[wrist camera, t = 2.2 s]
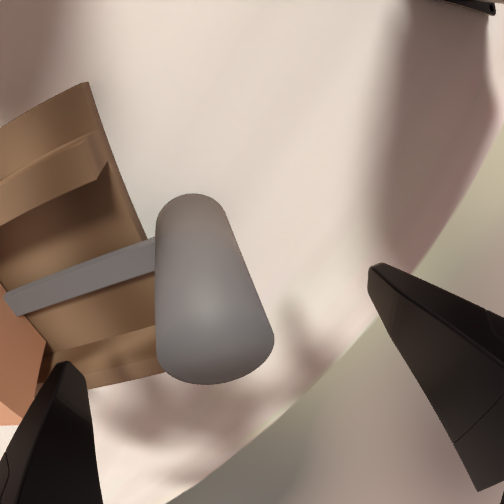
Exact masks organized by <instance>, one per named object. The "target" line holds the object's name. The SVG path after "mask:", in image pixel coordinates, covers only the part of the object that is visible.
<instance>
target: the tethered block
mask: <svg viewBox="0 0 504 504" xmlns="http://www.w3.org/2000/svg"><path fill="white" fill-rule="evenodd" d="M152 271H155V331H156V353H157V359H158V362H159V364H160V366H161V367H162V368H163V369H164V371H165V372H167V373H168V374H169V375H171V376H172V377H174V378H176V379H178V380H181V381H184V382H187V383H192V384H201V385H212V384H220V383H225V382H229V381H233V380H236V379H238V378H241V377H243V376H245V375H247V374H249V373H251V372H252V371H254V370H255V369H257V368H258V367H259V366H260V365H261V364H263V363H264V362H265V360H266V359H267V358H268V356H269V355H270V353H271V351H272V349H273V346H274V333H273V331H272V328H271V326H270V323H269V321H268V318H267V316H266V313H265V311H264V308H263V306H262V304H261V301H260V299H259V296H258V294H257V291H256V289H255V286H254V284H253V281H252V279H251V276H250V274H249V271H248V269H247V266H246V264H245V261H244V259H243V256H242V254H241V251H240V249H239V246H238V244H237V241H236V239H235V236H234V234H233V231H232V229H231V226H230V224H229V221H228V219H227V216H226V214H225V211H224V210H223V208H222V207H221V205H220V204H219V203H218V202H216V201H215V200H214V199H212V198H210V197H208V196H205V195H201V194H185V195H181V196H179V197H176V198H174V199H172V200H171V201H170V202H168V203H167V204H166V205H165V206H164V207H163V208H162V210H161V211H160V213H159V215H158V217H157V221H156V233H155V237H153V238H150V239H147V240H144V241H141V242H139V243H136V244H133V245H130V246H127V247H124V248H121V249H119V250H116V251H113V252H110V253H107V254H105V255H102V256H99V257H96V258H94V259H91V260H88V261H85V262H83V263H80V264H77V265H75V266H72V267H69V268H67V269H64V270H62V271H59V272H56V273H54V274H51V275H49V276H46V277H43V278H41V279H38V280H36V281H33V282H31V283H28V284H26V285H23V286H21V287H18V288H16V289H13V290H11V291H9V292H6V290H5V289H4V287H3V286H2V285H1V283H0V426H3V425H20V423H21V421H22V419H23V417H24V416H25V414H26V412H27V410H28V409H29V407H30V405H31V404H32V402H33V400H34V395H35V390H36V385H37V379H38V374H39V370H40V365H41V361H42V356H43V352H44V348H45V344H46V341H45V340H44V338H43V337H42V336H41V335H40V334H39V333H38V331H37V330H36V329H35V328H34V327H33V325H32V324H31V323H30V322H29V321H28V319H27V318H26V317H25V316H24V314H26V313H29V312H32V311H35V310H38V309H41V308H44V307H47V306H50V305H53V304H55V303H58V302H61V301H64V300H67V299H70V298H73V297H76V296H79V295H82V294H85V293H88V292H91V291H94V290H97V289H100V288H103V287H106V286H109V285H112V284H115V283H118V282H121V281H124V280H127V279H130V278H133V277H136V276H140V275H143V274H146V273H149V272H152Z"/></svg>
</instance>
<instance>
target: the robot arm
mask: <svg viewBox="0 0 504 504" xmlns="http://www.w3.org/2000/svg"><path fill="white" fill-rule="evenodd" d="M437 1H441V2H446V3H449V4H453V5H457V6H461V7H464V8H467V9H471V10H474V11H477V12H480V13H483V14H486V15H492V16H494V15H495V14H496V9H495V3H502V4H504V0H437ZM367 289H368V293H369V296H370V298H371V300H372V302H373V304H374V306H375V308H376V310H377V312H378V314H379V316H380V317H381V320H382V322H383V323H384V325H385V328H386V329H387V332H388V334H389V335H390V337H391V339H392V341H393V342H394V344H395V346H396V347H397V349H398V350H399V352H400V353H401V355H402V357H403V358H404V360H405V361H406V363H407V365H408V366H409V368H410V369H411V371H412V373H413V374H414V376H415V378H416V379H417V381H418V383H419V384H420V386H421V388H422V390H423V391H424V393H425V395H426V396H427V398H428V400H429V401H430V403H431V405H432V407H433V408H434V410H435V412H436V414H437V415H438V417H439V419H440V421H441V423H442V424H443V426H444V428H445V430H446V432H447V433H448V435H449V437H450V439H451V441H452V443H454V444H453V445H454V447H455V449H456V451H457V452H458V454H459V456H460V458H461V460H462V462H463V464H464V466H465V468H466V470H467V472H468V474H469V476H470V478H471V480H472V482H473V484H474V486H475V488H476V490H477V491H478V492H479V491H482V490H484V489H486V488H489V487H491V486H493V485H495V484H498V483H500V482H502V481H504V318H503V317H501V316H499V315H497V314H495V313H493V312H491V311H488V310H486V309H484V308H482V307H480V306H478V305H476V304H474V303H472V302H469V301H467V300H465V299H463V298H461V297H459V296H457V295H455V294H452V293H450V292H448V291H446V290H443V289H441V288H439V287H437V286H435V285H433V284H430V283H428V282H426V281H424V280H422V279H419V278H417V277H415V276H413V275H410V274H408V273H406V272H404V271H401V270H399V269H397V268H395V267H392V266H390V265H388V264H385V263H378V264H376V265H373V266H371V267H370V268H369V271H368V286H367ZM0 504H103V500H102V494H101V489H100V483H99V476H98V469H97V461H96V453H95V444H94V433H93V424H92V418H91V412H90V405H89V398H88V391H87V383H86V379H85V377H84V375H83V374H82V373H81V372H80V371H79V370H78V369H77V368H76V367H75V366H74V365H73V364H72V363H71V362H70V361H67V360H66V361H62V362H58V363H57V364H56V365H55V366H54V368H53V369H52V371H51V373H50V374H49V376H48V377H47V379H46V380H45V382H44V384H43V385H42V387H41V389H40V390H39V392H38V393H37V395H36V397H35V398H34V400H33V402H32V404H31V405H30V407H29V409H28V410H27V412H26V414H25V416H24V417H23V419H22V421H21V423H20V425H19V426H18V428H17V430H16V432H15V434H14V435H13V437H12V439H11V441H10V443H9V445H8V447H7V449H6V452H5V453H4V455H3V457H2V459H1V461H0ZM500 504H504V493H503V496H502V499H501V503H500Z"/></svg>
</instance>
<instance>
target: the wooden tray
mask: <svg viewBox="0 0 504 504" xmlns="http://www.w3.org/2000/svg"><path fill="white" fill-rule="evenodd" d="M144 240H147V237H146V234H145V232H144V230H143V228H142V225H141V223H140V221H139V218H138V216H137V214H136V211H135V209H134V207H133V204H132V202H131V199H130V197H129V195H128V192H127V190H126V187H125V185H124V182H123V180H122V177H121V175H120V172H119V169H118V167H117V164H116V162H115V159H114V156H113V154H112V151H111V148H110V145H109V143H108V140H107V137H106V134H105V131H104V129H103V126H102V123H101V120H100V117H99V114H98V111H97V108H96V105H95V102H94V99H93V95H92V92H91V89H90V86H89V82H85V83H80V84H78V85H76V86H74V87H72V88H70V89H68V90H66V91H64V92H62V93H60V94H58V95H56V96H54V97H52V98H50V99H48V100H47V101H45V102H43V103H41V104H39V105H38V106H36V107H34V108H32V109H31V110H29V111H27V112H25V113H24V114H22V115H20V116H19V117H17V118H16V119H14V120H12V121H11V122H9V123H8V124H6V125H5V126H3V127H2V128H0V283H1V285H2V286H3V287H4V289H5V290H6V292H9V291H11V290H13V289H16V288H18V287H21V286H23V285H26V284H28V283H31V282H33V281H36V280H38V279H41V278H43V277H46V276H49V275H51V274H54V273H56V272H59V271H62V270H64V269H67V268H69V267H72V266H75V265H77V264H80V263H83V262H85V261H88V260H91V259H94V258H96V257H99V256H102V255H105V254H107V253H110V252H113V251H116V250H119V249H121V248H124V247H127V246H130V245H133V244H136V243H139V242H141V241H144ZM24 316H25V317H26V318H27V319H28V321H29V322H30V323H31V324H32V325H33V327H34V328H35V329H36V330H37V331H38V333H39V334H40V335H41V336H42V337H43V338H44V340H45V341H46V344H45V348H44V352H43V356H42V361H41V365H40V370H39V374H38V379H37V385H36V390H35V395H34V398H35V397H36V395H37V393H38V392H39V390H40V389H41V387H42V385H43V384H44V382H45V380H46V379H47V377H48V376H49V374H50V373H51V371H52V369H53V368H54V366H55V365H56V364H57V363H58V362H62V361H66V360H67V361H70V362H71V363H72V364H73V365H74V366H75V367H76V368H77V369H78V370H79V371H80V372H81V373H82V374H83V375H84V377H85V379H86V383H87V389H92V388H97V387H102V386H107V385H112V384H117V383H121V382H126V381H130V380H134V379H139V378H143V377H147V376H151V375H155V374H159V373H163V372H165V371H164V369H163V368H162V367H161V366H160V364H159V362H158V359H157V353H156V331H155V271H152V272H149V273H146V274H143V275H140V276H136V277H133V278H130V279H127V280H124V281H121V282H118V283H115V284H112V285H109V286H106V287H103V288H100V289H97V290H94V291H91V292H88V293H85V294H82V295H79V296H76V297H73V298H70V299H67V300H64V301H61V302H58V303H55V304H53V305H50V306H47V307H44V308H41V309H38V310H35V311H32V312H29V313H26V314H24Z"/></svg>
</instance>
